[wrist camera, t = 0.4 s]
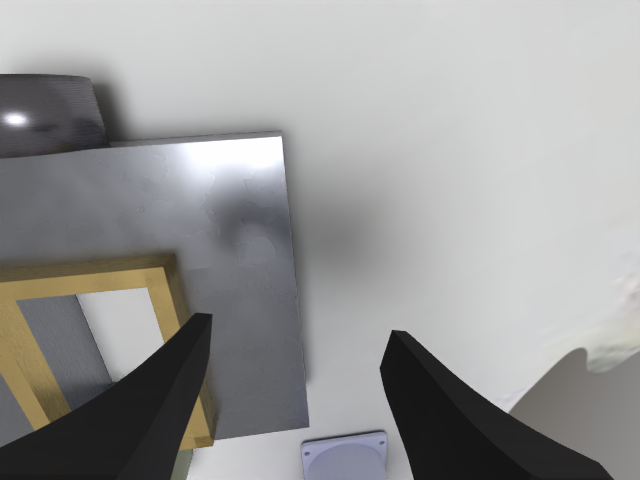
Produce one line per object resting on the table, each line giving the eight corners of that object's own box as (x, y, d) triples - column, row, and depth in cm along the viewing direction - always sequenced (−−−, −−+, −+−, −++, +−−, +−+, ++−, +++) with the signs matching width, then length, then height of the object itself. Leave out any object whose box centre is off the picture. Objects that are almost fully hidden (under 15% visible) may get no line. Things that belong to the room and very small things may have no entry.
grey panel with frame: (305, 382, 27) (311, 447, 22) (25, 418, 25) (-41, 498, 20) (275, 73, 18) (273, 60, 13) (-168, 96, 16) (-376, 91, 11)
